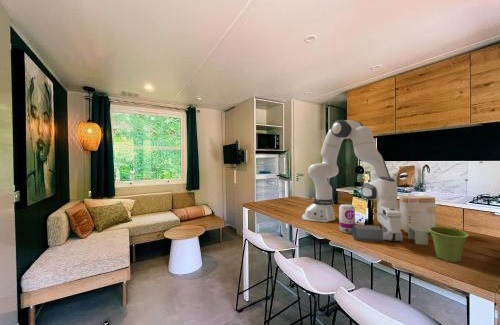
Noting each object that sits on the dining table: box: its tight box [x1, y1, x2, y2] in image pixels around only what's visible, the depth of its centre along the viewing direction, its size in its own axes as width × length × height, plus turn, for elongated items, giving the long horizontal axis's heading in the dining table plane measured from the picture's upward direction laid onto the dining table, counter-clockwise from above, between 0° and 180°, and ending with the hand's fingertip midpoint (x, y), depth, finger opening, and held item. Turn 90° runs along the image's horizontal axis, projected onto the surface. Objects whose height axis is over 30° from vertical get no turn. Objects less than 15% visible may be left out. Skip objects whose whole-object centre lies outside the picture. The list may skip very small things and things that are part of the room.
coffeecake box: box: [398, 194, 437, 234], centre depth 120 cm, size 15×7×20 cm, turn 84°
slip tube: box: [381, 228, 404, 242], centre depth 109 cm, size 21×6×5 cm, turn 76°
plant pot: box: [429, 226, 469, 263], centre depth 87 cm, size 12×12×11 cm
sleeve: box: [351, 224, 384, 243], centre depth 111 cm, size 13×7×6 cm, turn 76°
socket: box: [407, 226, 429, 246], centre depth 105 cm, size 5×8×6 cm, turn 166°
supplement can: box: [338, 203, 356, 234], centre depth 122 cm, size 8×8×15 cm
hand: (387, 235), depth 108 cm, fingers closed on slip tube, 4 cm apart
